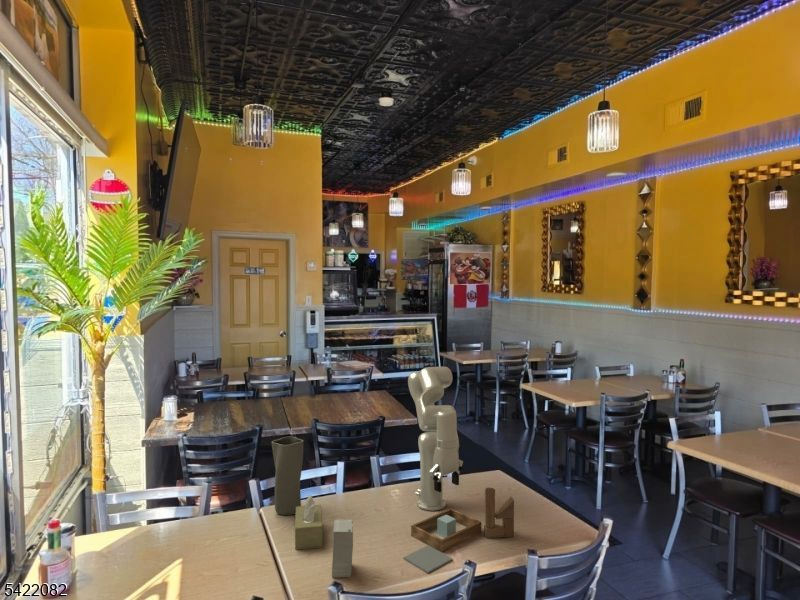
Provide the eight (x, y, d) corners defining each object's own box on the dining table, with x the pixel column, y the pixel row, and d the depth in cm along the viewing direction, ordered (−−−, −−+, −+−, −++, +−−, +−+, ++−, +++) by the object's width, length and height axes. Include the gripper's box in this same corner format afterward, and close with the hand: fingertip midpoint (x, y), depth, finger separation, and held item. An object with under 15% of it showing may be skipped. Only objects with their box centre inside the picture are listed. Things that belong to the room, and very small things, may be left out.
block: (437, 534, 194) (437, 518, 194) (446, 529, 198) (446, 514, 198) (446, 538, 191) (446, 523, 190) (455, 534, 194) (455, 519, 194)
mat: (403, 558, 177) (403, 557, 177) (427, 546, 185) (427, 545, 185) (427, 573, 168) (427, 571, 168) (452, 560, 176) (452, 558, 176)
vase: (309, 511, 214) (308, 441, 213) (282, 520, 206) (281, 447, 205) (294, 502, 223) (294, 434, 222) (268, 510, 215) (267, 440, 214)
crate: (411, 535, 193) (411, 525, 193) (450, 517, 207) (450, 508, 207) (441, 552, 181) (441, 541, 181) (481, 532, 196) (481, 521, 195)
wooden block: (514, 536, 192) (514, 489, 191) (486, 538, 191) (486, 491, 190) (511, 532, 195) (511, 486, 195) (483, 533, 194) (483, 487, 194)
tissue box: (322, 548, 185) (322, 505, 184) (295, 550, 183) (294, 507, 182) (321, 523, 203) (320, 484, 203) (296, 526, 201) (295, 486, 201)
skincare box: (332, 564, 173) (332, 519, 173) (353, 563, 174) (353, 518, 173) (331, 579, 165) (330, 531, 164) (353, 577, 166) (353, 530, 165)
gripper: (454, 436, 202) (454, 479, 202) (423, 445, 190) (423, 491, 190) (469, 440, 196) (469, 484, 196) (437, 450, 184) (438, 497, 185)
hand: (446, 487), depth 193 cm, fingers open, 9 cm apart
